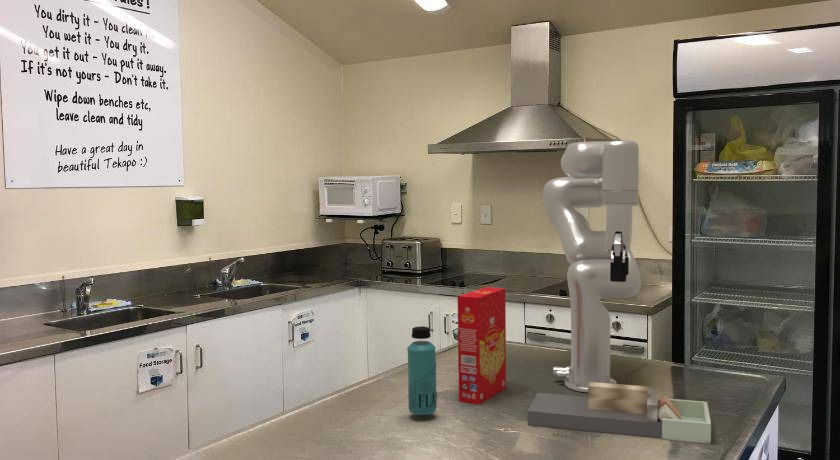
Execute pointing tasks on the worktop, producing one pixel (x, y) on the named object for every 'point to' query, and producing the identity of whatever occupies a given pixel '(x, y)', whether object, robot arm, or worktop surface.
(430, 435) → the worktop surface
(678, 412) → the tile terracotta
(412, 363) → the beverage bottle
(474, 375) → the food packaging
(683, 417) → the grey platform with tray
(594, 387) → the scraper
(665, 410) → the tile cream
